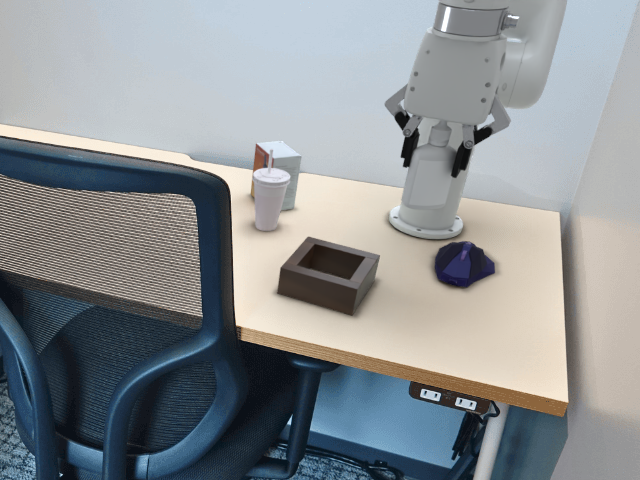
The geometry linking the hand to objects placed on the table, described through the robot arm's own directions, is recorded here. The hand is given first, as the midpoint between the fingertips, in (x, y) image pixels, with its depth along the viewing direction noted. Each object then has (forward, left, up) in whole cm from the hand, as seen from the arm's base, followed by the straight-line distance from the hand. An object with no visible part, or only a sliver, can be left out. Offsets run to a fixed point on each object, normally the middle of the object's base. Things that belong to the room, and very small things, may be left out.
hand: (431, 167), depth 90 cm
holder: (+1, -11, -21) cm, 24 cm away
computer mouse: (-16, +6, -21) cm, 28 cm away
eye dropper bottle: (0, 0, -5) cm, 5 cm away
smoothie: (-13, -27, -21) cm, 37 cm away
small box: (-23, -30, -21) cm, 43 cm away
